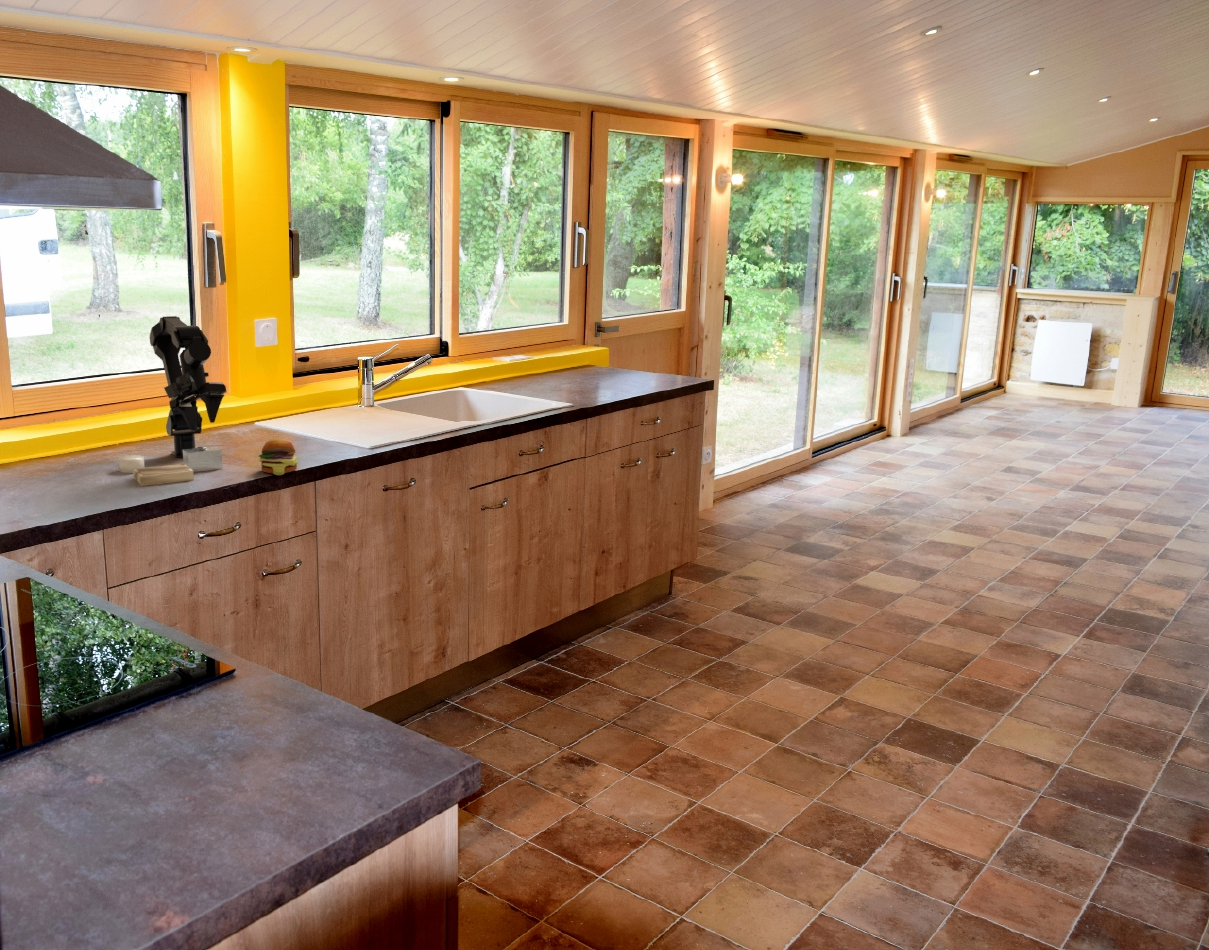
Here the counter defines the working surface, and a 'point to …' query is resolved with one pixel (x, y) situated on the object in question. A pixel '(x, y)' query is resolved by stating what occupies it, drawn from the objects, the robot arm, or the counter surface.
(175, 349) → the robot arm
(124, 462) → the cream rounded block
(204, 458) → the block
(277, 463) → the cheeseburger
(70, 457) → the counter surface
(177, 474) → the stand
